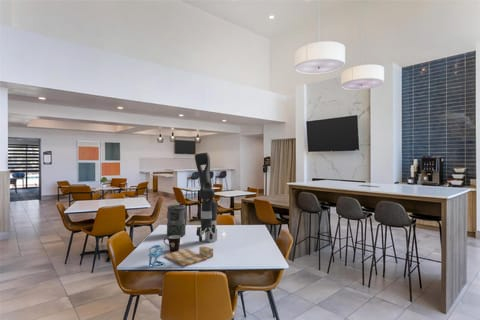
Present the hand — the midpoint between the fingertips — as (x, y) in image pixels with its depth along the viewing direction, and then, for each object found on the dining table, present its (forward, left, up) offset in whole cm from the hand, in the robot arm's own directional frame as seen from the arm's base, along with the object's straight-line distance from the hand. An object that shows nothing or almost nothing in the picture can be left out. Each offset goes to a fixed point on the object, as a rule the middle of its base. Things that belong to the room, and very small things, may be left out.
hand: (205, 240), depth 187 cm
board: (+13, -6, -11) cm, 18 cm away
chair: (+33, -9, -11) cm, 36 cm away
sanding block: (0, 0, -11) cm, 11 cm away
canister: (-11, -58, -11) cm, 60 cm away
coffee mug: (+11, -26, -11) cm, 30 cm away
